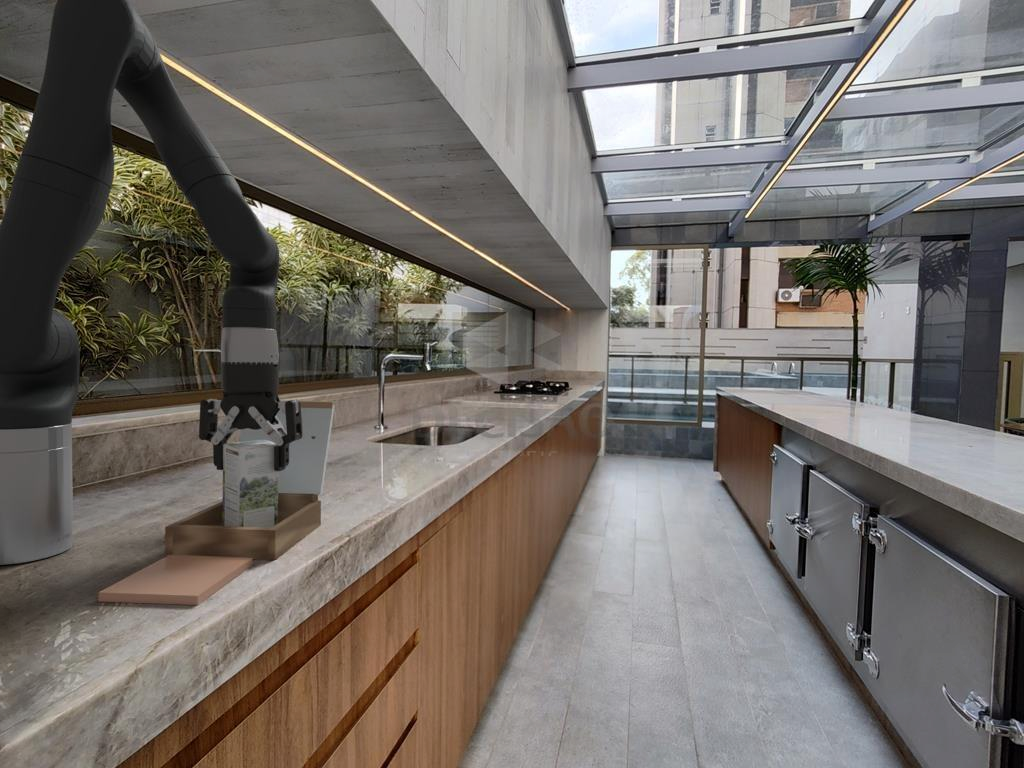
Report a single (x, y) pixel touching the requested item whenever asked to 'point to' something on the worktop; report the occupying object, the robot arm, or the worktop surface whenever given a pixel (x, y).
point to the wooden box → (244, 531)
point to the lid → (303, 448)
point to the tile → (177, 580)
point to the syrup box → (249, 484)
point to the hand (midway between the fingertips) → (251, 469)
